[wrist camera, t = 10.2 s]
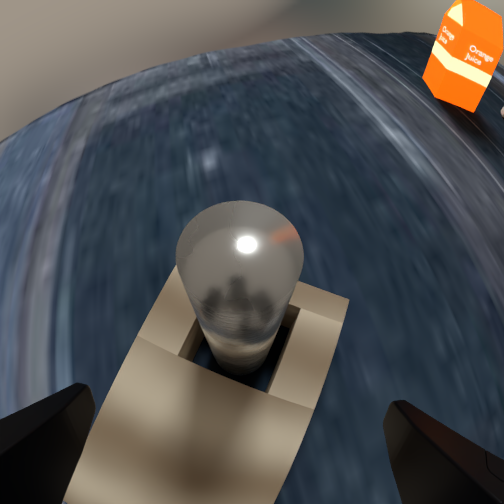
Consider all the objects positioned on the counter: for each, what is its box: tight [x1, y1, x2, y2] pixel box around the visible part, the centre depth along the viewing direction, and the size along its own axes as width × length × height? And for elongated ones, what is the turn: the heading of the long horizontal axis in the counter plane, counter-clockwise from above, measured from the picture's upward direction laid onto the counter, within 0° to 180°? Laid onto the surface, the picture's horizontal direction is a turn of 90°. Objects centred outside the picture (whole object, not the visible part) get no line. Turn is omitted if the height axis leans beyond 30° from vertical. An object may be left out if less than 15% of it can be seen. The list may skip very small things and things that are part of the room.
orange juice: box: [422, 0, 503, 113], centre depth 32 cm, size 8×9×20 cm
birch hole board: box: [63, 265, 349, 504], centre depth 15 cm, size 18×10×4 cm, turn 158°
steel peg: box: [176, 201, 304, 375], centre depth 14 cm, size 4×4×12 cm
